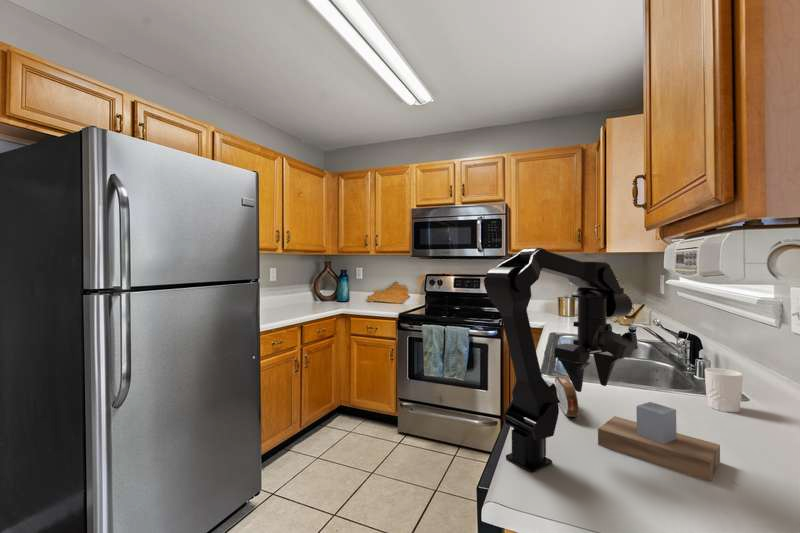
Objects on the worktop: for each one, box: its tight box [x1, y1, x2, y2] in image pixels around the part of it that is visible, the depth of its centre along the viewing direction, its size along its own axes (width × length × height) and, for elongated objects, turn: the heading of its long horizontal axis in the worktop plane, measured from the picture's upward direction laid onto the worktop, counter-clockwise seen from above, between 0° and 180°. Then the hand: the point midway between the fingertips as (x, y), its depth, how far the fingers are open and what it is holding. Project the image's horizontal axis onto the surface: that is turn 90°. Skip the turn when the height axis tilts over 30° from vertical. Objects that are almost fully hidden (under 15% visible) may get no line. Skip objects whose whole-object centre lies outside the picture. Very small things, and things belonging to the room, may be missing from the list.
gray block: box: [636, 401, 678, 444], centre depth 77 cm, size 5×5×6 cm
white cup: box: [704, 367, 744, 414], centre depth 102 cm, size 8×8×10 cm
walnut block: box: [597, 415, 721, 483], centre depth 77 cm, size 10×19×4 cm, turn 42°
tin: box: [554, 375, 579, 418], centre depth 100 cm, size 15×3×8 cm, turn 168°
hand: (591, 388), depth 83 cm, fingers open, 9 cm apart
